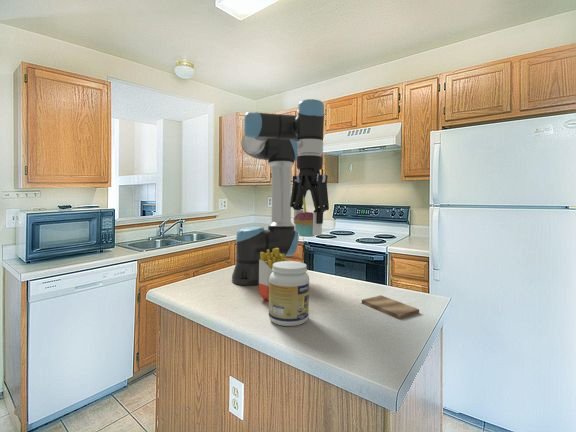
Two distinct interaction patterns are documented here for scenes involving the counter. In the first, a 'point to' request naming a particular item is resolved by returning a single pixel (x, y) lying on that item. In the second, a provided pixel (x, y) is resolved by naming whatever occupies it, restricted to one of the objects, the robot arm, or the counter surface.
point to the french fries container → (267, 270)
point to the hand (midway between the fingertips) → (307, 232)
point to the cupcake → (304, 222)
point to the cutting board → (390, 306)
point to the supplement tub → (288, 293)
